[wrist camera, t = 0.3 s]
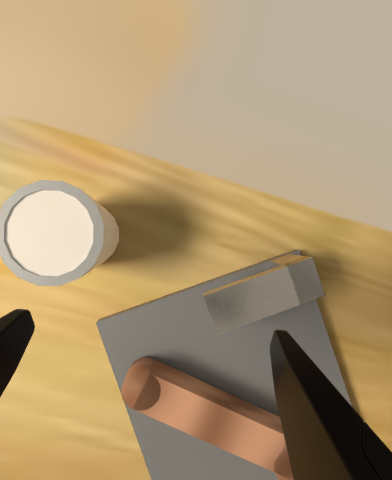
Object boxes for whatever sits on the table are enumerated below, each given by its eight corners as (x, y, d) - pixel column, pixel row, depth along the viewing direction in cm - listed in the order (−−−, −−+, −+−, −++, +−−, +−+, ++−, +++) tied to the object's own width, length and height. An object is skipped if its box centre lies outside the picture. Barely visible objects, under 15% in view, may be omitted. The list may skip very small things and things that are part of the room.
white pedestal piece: (41, 264, 24) (-18, 274, 17) (58, 189, 24) (6, 168, 17) (117, 280, 24) (90, 296, 17) (133, 206, 24) (114, 192, 17)
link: (321, 427, 24) (350, 466, 20) (299, 472, 24) (324, 521, 20) (141, 344, 23) (132, 367, 19) (118, 390, 23) (104, 423, 19)
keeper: (300, 285, 24) (325, 295, 20) (210, 317, 23) (217, 335, 19) (289, 254, 24) (312, 257, 20) (199, 285, 23) (203, 296, 19)
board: (358, 438, 25) (365, 447, 24) (168, 514, 24) (168, 525, 23) (295, 249, 25) (299, 250, 24) (99, 319, 24) (95, 322, 23)
